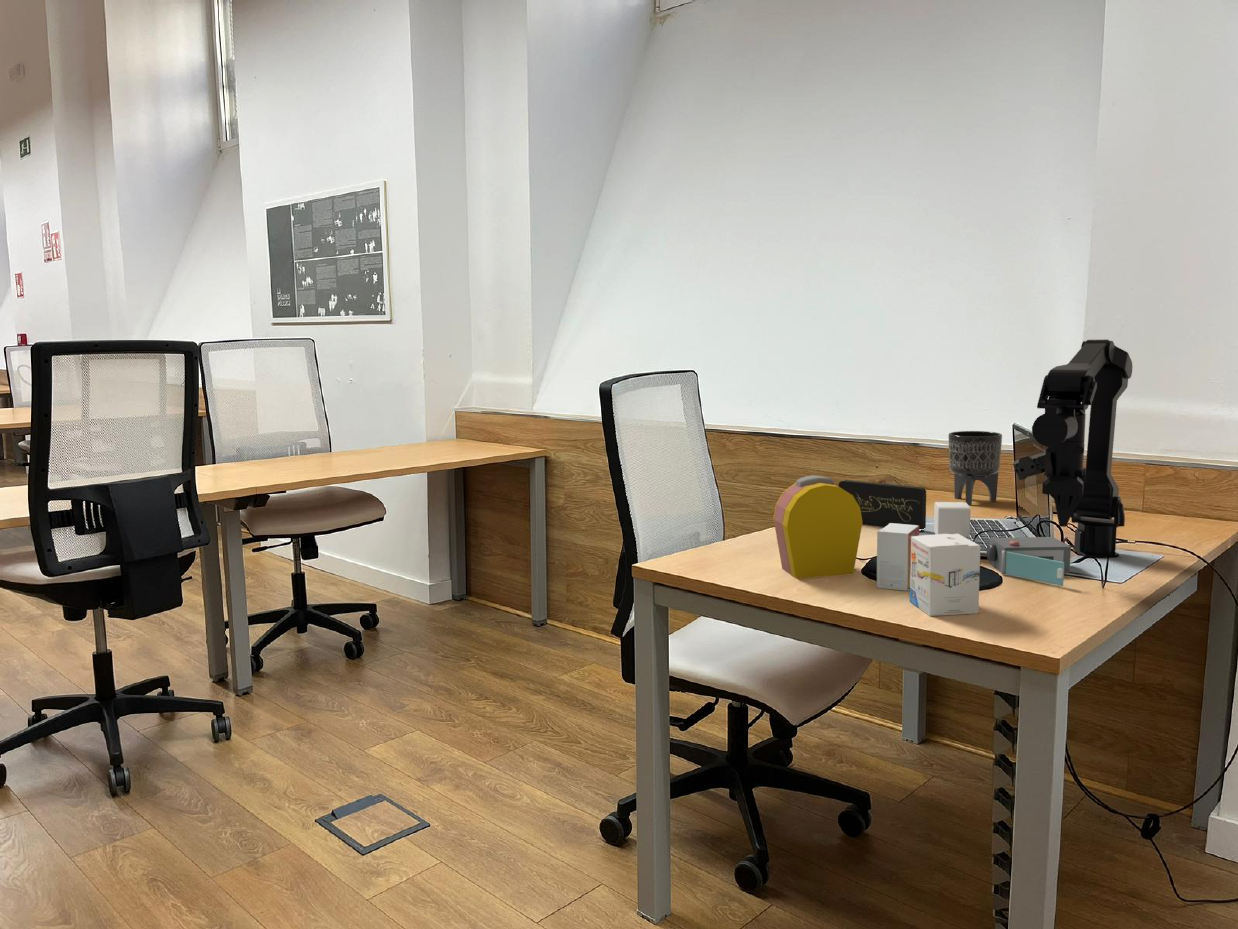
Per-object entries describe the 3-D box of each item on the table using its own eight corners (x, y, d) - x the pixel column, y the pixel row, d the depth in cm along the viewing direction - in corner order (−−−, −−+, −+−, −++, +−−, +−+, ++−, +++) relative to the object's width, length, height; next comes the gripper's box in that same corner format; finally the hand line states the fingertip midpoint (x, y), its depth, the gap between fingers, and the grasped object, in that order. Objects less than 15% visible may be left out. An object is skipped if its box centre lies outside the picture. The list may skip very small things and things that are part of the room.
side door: (999, 574, 171) (999, 551, 170) (1002, 573, 172) (1003, 550, 171) (1059, 587, 162) (1061, 562, 161) (1063, 585, 163) (1064, 561, 162)
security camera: (969, 556, 185) (971, 507, 184) (933, 555, 187) (934, 507, 185) (964, 548, 192) (965, 501, 190) (929, 548, 193) (930, 501, 191)
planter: (994, 507, 231) (996, 437, 229) (941, 503, 238) (942, 435, 236) (1004, 499, 242) (1006, 432, 240) (953, 495, 249) (955, 430, 247)
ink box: (908, 601, 157) (909, 534, 155) (956, 599, 158) (957, 532, 156) (929, 617, 149) (930, 546, 147) (979, 614, 149) (981, 543, 148)
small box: (907, 592, 162) (908, 533, 161) (875, 588, 165) (876, 530, 164) (919, 581, 169) (920, 524, 168) (888, 577, 172) (889, 522, 171)
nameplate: (925, 531, 209) (926, 487, 207) (922, 532, 207) (922, 489, 206) (842, 520, 223) (842, 479, 221) (838, 521, 221) (838, 480, 220)
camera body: (1051, 562, 179) (1053, 533, 179) (1069, 573, 171) (1071, 543, 170) (983, 563, 180) (984, 535, 179) (998, 574, 172) (999, 544, 171)
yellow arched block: (844, 563, 183) (845, 471, 180) (861, 573, 175) (863, 478, 172) (772, 568, 181) (772, 475, 178) (787, 579, 173) (786, 482, 170)
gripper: (1021, 432, 175) (1018, 513, 177) (1012, 445, 159) (1009, 533, 161) (1087, 434, 170) (1083, 517, 172) (1084, 447, 154) (1080, 539, 156)
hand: (1062, 526), depth 166 cm, fingers closed
